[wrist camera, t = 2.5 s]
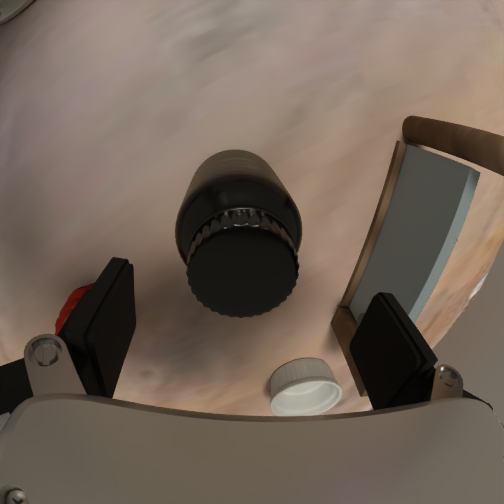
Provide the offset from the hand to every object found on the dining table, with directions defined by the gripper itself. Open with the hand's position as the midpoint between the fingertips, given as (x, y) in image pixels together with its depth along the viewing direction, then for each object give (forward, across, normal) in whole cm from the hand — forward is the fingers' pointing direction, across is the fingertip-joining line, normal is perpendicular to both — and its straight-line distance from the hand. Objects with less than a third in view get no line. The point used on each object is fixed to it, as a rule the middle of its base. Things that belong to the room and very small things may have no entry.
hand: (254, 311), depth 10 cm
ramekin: (+15, -11, +21) cm, 28 cm away
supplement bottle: (+14, +1, -1) cm, 14 cm away
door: (+13, -13, +1) cm, 18 cm away
